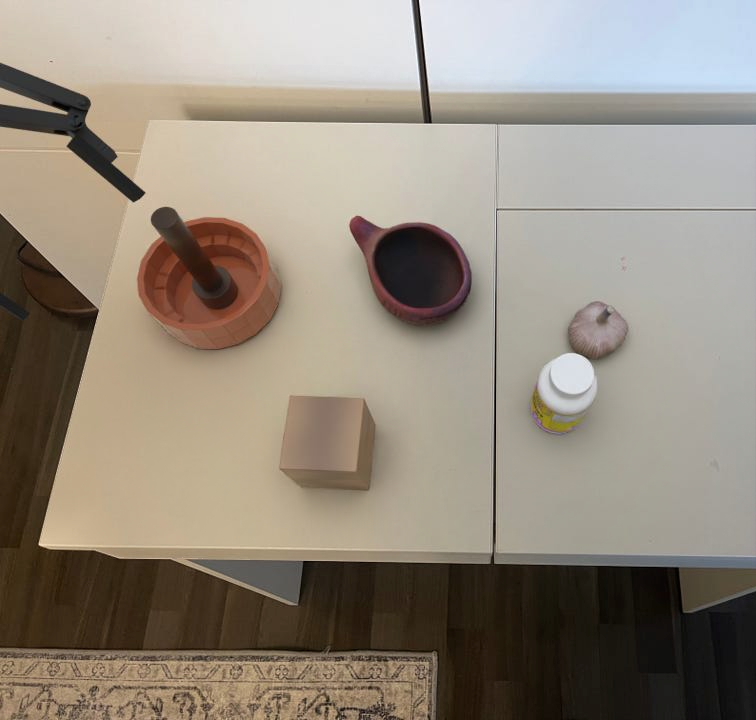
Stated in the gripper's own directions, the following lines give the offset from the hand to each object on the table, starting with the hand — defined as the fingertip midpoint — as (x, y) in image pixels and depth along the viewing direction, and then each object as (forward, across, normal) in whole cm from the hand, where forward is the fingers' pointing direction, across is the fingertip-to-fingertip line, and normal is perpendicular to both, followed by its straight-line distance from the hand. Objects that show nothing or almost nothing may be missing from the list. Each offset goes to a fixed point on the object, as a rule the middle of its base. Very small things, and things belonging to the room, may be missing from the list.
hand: (85, 255), depth 56 cm
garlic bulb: (+48, -30, +8) cm, 57 cm away
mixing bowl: (+16, -10, -23) cm, 30 cm away
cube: (+34, 0, -6) cm, 35 cm away
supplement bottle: (+48, -18, +8) cm, 52 cm away
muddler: (+16, -10, -23) cm, 29 cm away
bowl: (+31, -23, -9) cm, 40 cm away
